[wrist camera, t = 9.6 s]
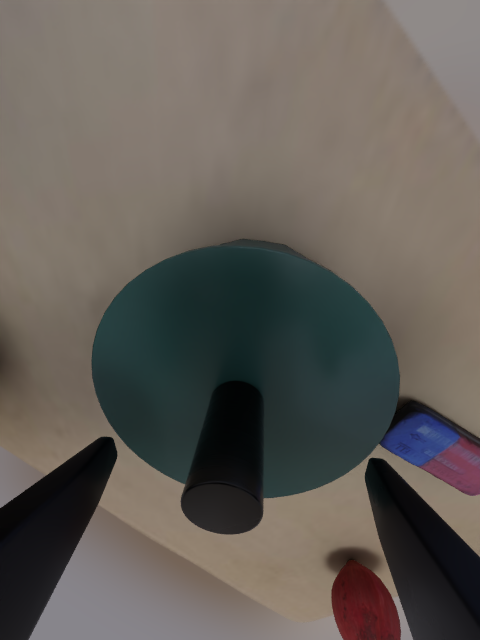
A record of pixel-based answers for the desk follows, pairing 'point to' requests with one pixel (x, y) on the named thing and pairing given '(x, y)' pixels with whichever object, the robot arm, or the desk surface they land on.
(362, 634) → the onion
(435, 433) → the eraser
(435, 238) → the desk surface
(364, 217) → the desk surface
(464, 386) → the desk surface
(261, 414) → the lid
